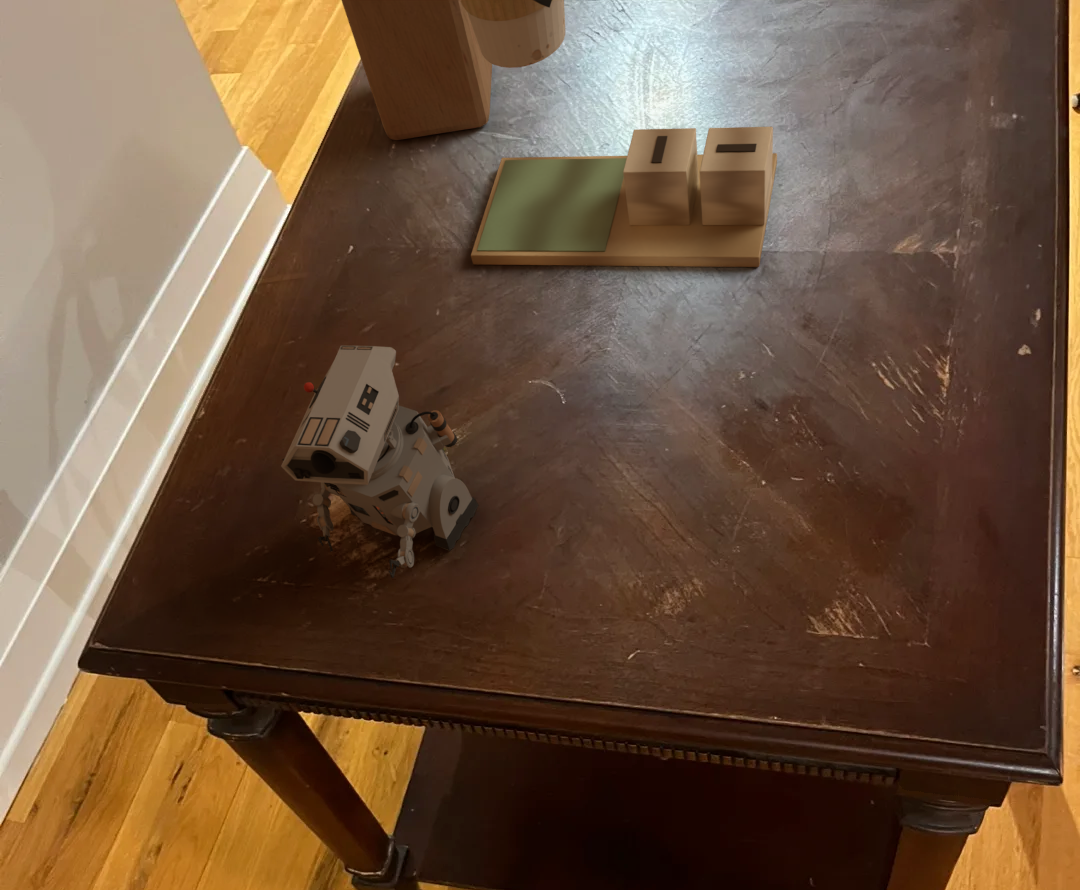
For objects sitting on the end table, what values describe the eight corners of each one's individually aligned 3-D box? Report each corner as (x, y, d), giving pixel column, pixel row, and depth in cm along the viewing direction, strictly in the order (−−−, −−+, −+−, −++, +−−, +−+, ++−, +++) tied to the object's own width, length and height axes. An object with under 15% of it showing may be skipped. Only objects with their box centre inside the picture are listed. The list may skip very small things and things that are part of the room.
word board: (777, 163, 91) (778, 94, 86) (759, 267, 87) (759, 201, 81) (503, 167, 97) (489, 103, 92) (472, 264, 92) (455, 203, 87)
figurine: (313, 576, 81) (226, 444, 68) (392, 460, 84) (324, 312, 71) (414, 617, 78) (344, 486, 64) (492, 494, 81) (440, 346, 68)
